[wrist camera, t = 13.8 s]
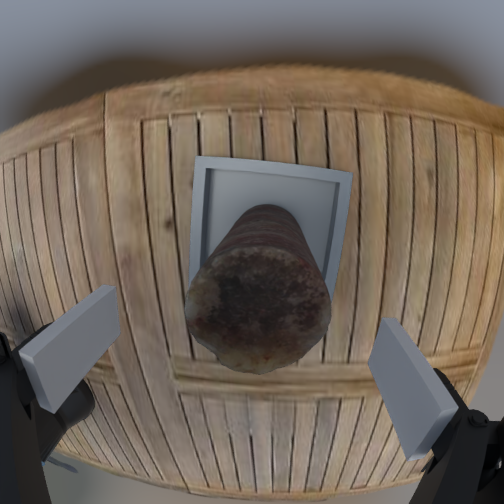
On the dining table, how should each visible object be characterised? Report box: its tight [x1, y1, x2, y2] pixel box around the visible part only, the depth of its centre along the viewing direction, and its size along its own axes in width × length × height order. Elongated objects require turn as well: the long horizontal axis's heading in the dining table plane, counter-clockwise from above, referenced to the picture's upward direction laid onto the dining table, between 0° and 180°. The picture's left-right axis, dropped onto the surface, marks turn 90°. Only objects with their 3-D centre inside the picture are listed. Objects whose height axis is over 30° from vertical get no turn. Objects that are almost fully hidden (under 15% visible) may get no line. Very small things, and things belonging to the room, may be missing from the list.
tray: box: [189, 156, 353, 303], centre depth 32 cm, size 16×16×3 cm
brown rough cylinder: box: [184, 204, 331, 375], centre depth 23 cm, size 8×7×20 cm
